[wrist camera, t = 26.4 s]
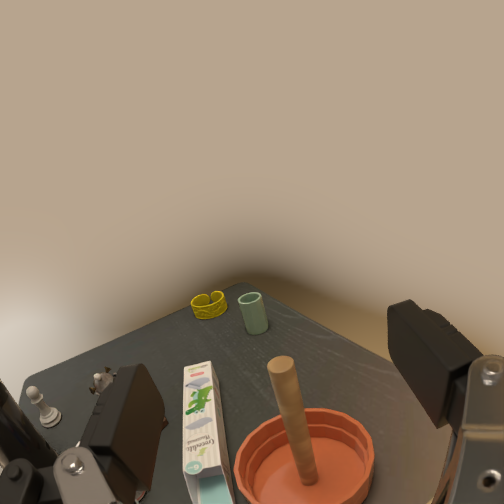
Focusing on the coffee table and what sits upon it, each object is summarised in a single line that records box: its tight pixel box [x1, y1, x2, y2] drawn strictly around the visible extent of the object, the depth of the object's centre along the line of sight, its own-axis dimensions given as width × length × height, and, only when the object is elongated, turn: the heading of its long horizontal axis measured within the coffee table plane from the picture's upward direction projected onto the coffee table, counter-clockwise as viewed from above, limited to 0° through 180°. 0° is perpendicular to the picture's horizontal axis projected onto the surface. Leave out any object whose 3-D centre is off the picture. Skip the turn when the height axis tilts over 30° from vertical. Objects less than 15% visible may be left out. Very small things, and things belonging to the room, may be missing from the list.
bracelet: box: [191, 291, 227, 319], centre depth 74 cm, size 7×8×3 cm
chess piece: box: [26, 386, 61, 428], centre depth 43 cm, size 5×5×8 cm
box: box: [183, 361, 236, 504], centre depth 36 cm, size 4×4×28 cm
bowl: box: [234, 408, 375, 504], centre depth 28 cm, size 14×14×6 cm
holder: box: [238, 292, 269, 335], centre depth 62 cm, size 4×4×7 cm
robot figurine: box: [89, 367, 168, 431], centre depth 41 cm, size 11×9×12 cm
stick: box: [267, 356, 319, 486], centre depth 25 cm, size 2×2×18 cm
